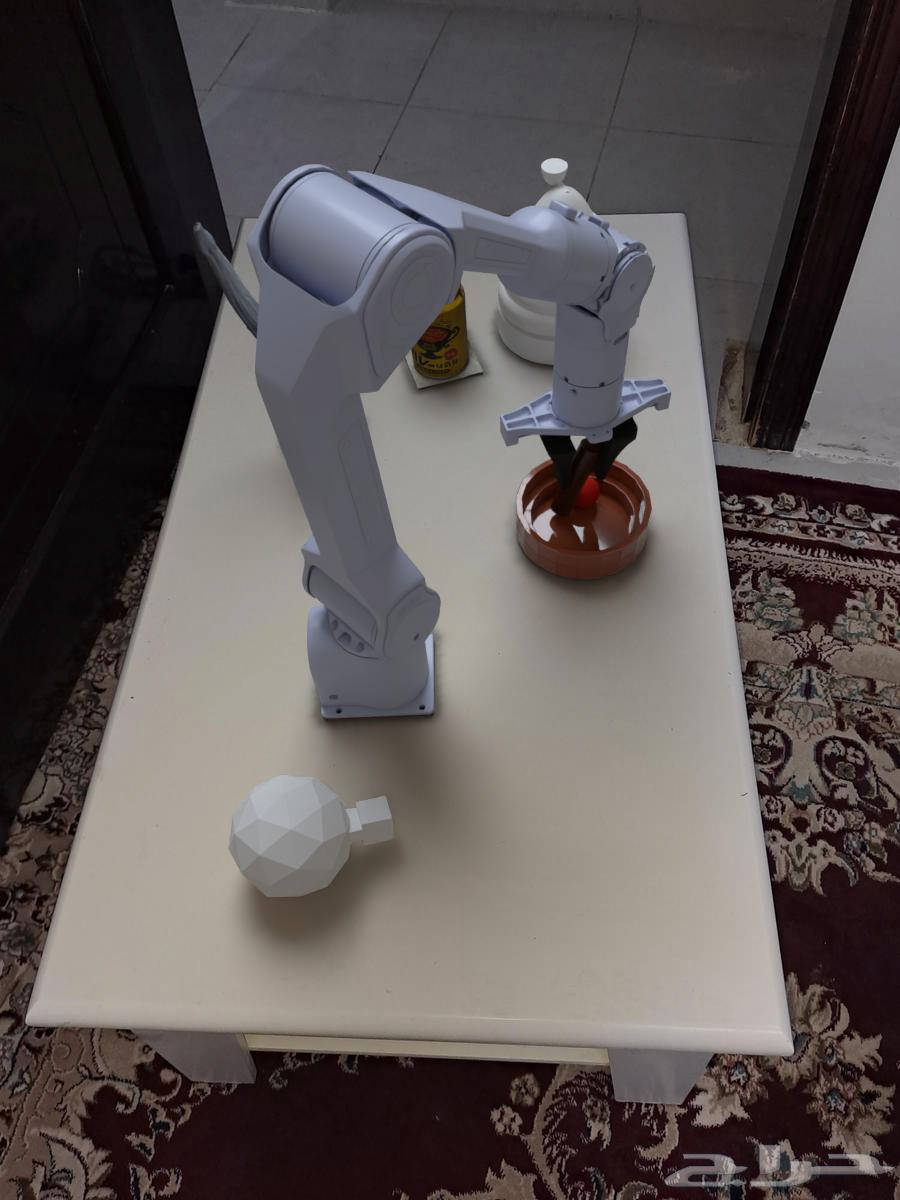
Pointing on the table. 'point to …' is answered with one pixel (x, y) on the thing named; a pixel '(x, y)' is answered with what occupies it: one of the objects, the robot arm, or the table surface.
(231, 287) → the antler
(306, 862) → the perfume bottle
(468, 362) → the condiment
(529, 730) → the table surface
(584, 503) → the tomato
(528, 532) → the bowl
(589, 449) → the stick
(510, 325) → the honey pot
